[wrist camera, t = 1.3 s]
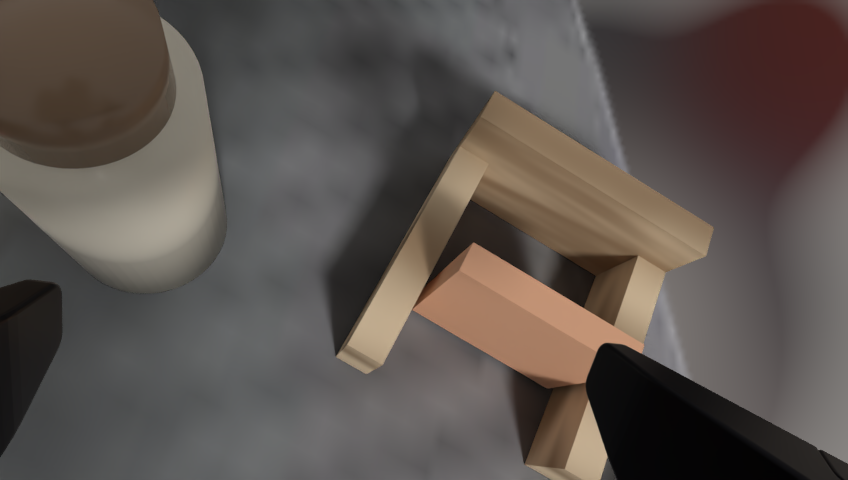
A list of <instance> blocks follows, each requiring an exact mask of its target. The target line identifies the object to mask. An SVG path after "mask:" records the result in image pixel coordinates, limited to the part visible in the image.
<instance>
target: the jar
mask: <svg viewBox="0 0 848 480" xmlns="http://www.w3.org/2000/svg"><path fill="white" fill-rule="evenodd" d="M0 192H1V193H3V194H4V195H5V196H6V197H7V198H8V199H9V200H10V201H11V202H12V203H13V204H15V205H16V206H17V207H18V208H19V209H20V210H21V211H22V212H23V213H24V214H25V215H26V216H28V217H29V218H30V219H31V220H32V221H33V222H34V223H35V224H36V225H37V226H38V227H39V228H41V229H42V230H43V231H44V232H45V233H46V234H47V235H48V236H49V237H50V238H51V239H52V240H54V241H55V242H56V243H57V244H58V245H59V246H60V247H61V248H62V249H63V250H64V251H65V252H67V253H68V254H69V255H70V256H71V257H72V258H73V259H74V260H75V261H76V262H77V263H78V264H80V265H81V266H82V267H83V268H84V269H85V270H86V271H87V272H88V273H89V274H91V275H92V276H93V277H94V278H95V279H97V280H98V281H100V282H102V283H103V284H105V285H107V286H110V287H112V288H115V289H118V290H121V291H125V292H130V293H140V294H148V293H158V292H165V291H168V290H172V289H175V288H177V287H180V286H182V285H185V284H186V283H188V282H190V281H192V280H194V279H195V278H196V277H198V276H199V275H201V274H202V273H203V272H204V271H205V270H206V269H207V268H208V267H209V266H210V265H211V264H212V263H213V261H214V260H215V259H216V257H217V255H218V254H219V252H220V250H221V248H222V246H223V243H224V240H225V237H226V231H227V216H226V210H225V204H224V198H223V192H222V186H221V180H220V174H219V168H218V162H217V156H216V151H215V145H214V139H213V133H212V127H211V121H210V115H209V109H208V103H207V97H206V92H205V86H204V80H203V74H202V71H201V68H200V65H199V62H198V60H197V58H196V56H195V54H194V52H193V50H192V49H191V47H190V46H189V44H188V43H187V41H186V40H185V39H184V38H183V37H182V36H181V34H180V33H179V32H178V31H177V30H176V29H175V28H174V27H172V26H171V25H170V24H169V23H168V22H167V21H165V20H164V19H162V18H161V17H160V16H159V12H158V10H157V8H156V6H155V3H154V1H153V0H0Z"/></svg>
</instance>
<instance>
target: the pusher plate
mask: <svg viewBox="0 0 848 480" xmlns="http://www.w3.org/2000/svg"><path fill="white" fill-rule="evenodd" d="M412 310H413V311H415V312H417V313H418V314H420V315H422V316H423V317H425V318H427V319H429V320H430V321H432V322H434V323H435V324H437V325H439V326H441V327H442V328H444V329H446V330H447V331H449V332H451V333H453V334H454V335H456V336H458V337H459V338H461V339H463V340H465V341H466V342H468V343H470V344H471V345H473V346H475V347H477V348H478V349H480V350H482V351H483V352H485V353H487V354H489V355H490V356H492V357H494V358H495V359H497V360H499V361H501V362H502V363H504V364H506V365H507V366H509V367H511V368H513V369H514V370H516V371H518V372H519V373H521V374H523V375H525V376H526V377H528V378H530V379H531V380H533V381H535V382H537V383H538V384H540V385H542V386H543V387H545V388H547V389H549V388H555V387H561V386H567V385H574V384H580V383H586V379H587V376H588V373H589V371H590V368H591V365H592V363H593V360H594V358H595V355H596V353H597V350H598V348H599V347H600V346H601V345H602V344H604V343H616V344H623V345H626V346H628V347H630V348H632V349H634V350H636V351H637V352H639V353H641V354H642V351H643V348H644V344H642V343H641V342H639V341H637V340H636V339H634V338H632V337H631V336H629V335H627V334H626V333H624V332H622V331H621V330H619V329H617V328H616V327H614V326H612V325H611V324H609V323H607V322H606V321H604V320H602V319H601V318H599V317H597V316H596V315H594V314H592V313H591V312H589V311H587V310H586V309H584V308H582V307H581V306H579V305H577V304H576V303H574V302H572V301H571V300H569V299H567V298H566V297H564V296H562V295H561V294H559V293H557V292H556V291H554V290H552V289H551V288H549V287H547V286H546V285H544V284H542V283H541V282H539V281H537V280H536V279H534V278H532V277H531V276H529V275H527V274H526V273H524V272H522V271H521V270H519V269H517V268H516V267H514V266H512V265H511V264H509V263H507V262H506V261H504V260H502V259H501V258H499V257H497V256H496V255H494V254H492V253H491V252H489V251H487V250H486V249H484V248H482V247H481V246H479V245H477V244H476V243H474V242H473V243H472V244H471V245H470V246H469V247H468V248H466V249H465V250H464V251H463V252H462V253H461V254H460V255H459V256H458V257H457V258H455V259H454V260H453V261H452V262H451V263H450V264H449V265H448V266H447V267H446V268H444V269H443V270H442V271H441V272H440V273H439V274H438V275H437V276H436V277H435V278H434V279H432V280H431V281H430V282H429V283H428V284H427V285H426V286H425V287H424V288H423V290H422V292H421V294H420V295H419V297H418V299H417V301H416V303H415V305H414V307H413V309H412Z"/></svg>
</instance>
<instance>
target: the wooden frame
mask: <svg viewBox="0 0 848 480" xmlns="http://www.w3.org/2000/svg"><path fill="white" fill-rule="evenodd" d="M470 200H472V201H473V202H475V203H477V204H478V205H480V206H481V207H483V208H485V209H486V210H488V211H490V212H491V213H493V214H495V215H496V216H498V217H500V218H501V219H503V220H505V221H506V222H508V223H510V224H511V225H513V226H514V227H516V228H518V229H519V230H521V231H523V232H524V233H526V234H528V235H529V236H531V237H533V238H534V239H536V240H538V241H539V242H541V243H543V244H544V245H546V246H548V247H549V248H551V249H552V250H554V251H556V252H557V253H559V254H561V255H562V256H564V257H566V258H567V259H569V260H571V261H572V262H574V263H576V264H577V265H579V266H581V267H582V268H584V269H585V270H587V271H589V272H590V273H592V274H594V275H595V276H596V277H595V279H594V282H593V285H592V287H591V290H590V293H589V295H588V298H587V301H586V303H585V306H584V309H586V310H587V311H589V312H591V313H592V314H594V315H596V316H597V317H599V318H601V319H602V320H604V321H606V322H607V323H609V324H611V325H612V326H614V327H616V328H617V329H619V330H621V331H622V332H624V333H626V334H627V335H629V336H631V337H632V338H634V339H636V340H637V341H639V342H641V343H642V344H643V343H644V340H645V336H646V333H647V330H648V327H649V324H650V320H651V317H652V314H653V311H654V308H655V305H656V301H657V298H658V295H659V292H660V289H661V286H662V282H663V279H664V276H665V273H666V272H668V271H670V270H672V269H675V268H678V267H680V266H683V265H685V264H688V263H690V262H692V261H695V260H697V259H700V258H702V257H705V256H706V254H707V251H708V247H709V243H710V240H711V236H712V233H713V229H714V227H712V226H711V225H709V224H707V223H706V222H704V221H703V220H701V219H699V218H698V217H696V216H695V215H693V214H691V213H690V212H688V211H686V210H685V209H683V208H682V207H680V206H679V205H677V204H675V203H674V202H672V201H671V200H669V199H667V198H666V197H664V196H662V195H661V194H659V193H658V192H656V191H655V190H653V189H651V188H650V187H648V186H647V185H645V184H643V183H642V182H640V181H639V180H637V179H635V178H634V177H632V176H631V175H629V174H627V173H626V172H624V171H623V170H621V169H619V168H618V167H616V166H615V165H613V164H611V163H610V162H608V161H607V160H605V159H603V158H602V157H600V156H599V155H597V154H595V153H594V152H592V151H591V150H589V149H587V148H586V147H584V146H583V145H581V144H579V143H578V142H576V141H575V140H573V139H571V138H570V137H568V136H567V135H565V134H563V133H562V132H560V131H559V130H557V129H555V128H554V127H552V126H551V125H549V124H547V123H546V122H544V121H543V120H541V119H539V118H538V117H536V116H535V115H533V114H531V113H530V112H528V111H527V110H525V109H523V108H522V107H520V106H519V105H517V104H515V103H514V102H512V101H511V100H509V99H507V98H506V97H504V96H503V95H501V94H499V93H498V92H496V91H495V92H494V93H493V94H492V96H491V97H490V99H489V100H488V102H487V103H486V105H485V106H484V108H483V109H482V111H481V112H480V114H479V115H478V117H477V118H476V120H475V121H474V123H473V124H472V126H471V127H470V128H469V130H468V131H467V133H466V134H465V136H464V137H463V139H462V140H461V142H460V143H459V145H458V146H457V148H456V149H455V151H454V152H453V154H452V155H451V157H450V158H449V160H448V162H447V163H446V165H445V167H444V169H443V170H442V172H441V174H440V176H439V177H438V179H437V181H436V183H435V184H434V186H433V188H432V190H431V191H430V193H429V195H428V197H427V198H426V200H425V202H424V204H423V205H422V207H421V209H420V211H419V212H418V214H417V216H416V218H415V219H414V221H413V223H412V225H411V226H410V228H409V230H408V232H407V233H406V235H405V237H404V239H403V240H402V242H401V244H400V246H399V247H398V249H397V251H396V252H395V254H394V256H393V258H392V259H391V261H390V263H389V265H388V266H387V268H386V270H385V272H384V273H383V275H382V277H381V279H380V280H379V282H378V284H377V286H376V287H375V289H374V291H373V293H372V294H371V296H370V298H369V300H368V301H367V303H366V305H365V307H364V308H363V310H362V312H361V314H360V315H359V317H358V319H357V321H356V322H355V324H354V326H353V328H352V329H351V331H350V333H349V335H348V336H347V338H346V340H345V342H344V343H343V345H342V347H341V349H340V350H339V352H338V354H337V356H336V357H337V358H339V359H340V360H342V361H344V362H346V363H347V364H349V365H351V366H353V367H354V368H356V369H358V370H360V371H361V372H363V373H365V374H368V373H369V372H371V371H373V370H375V369H376V368H378V367H380V366H381V365H383V363H384V361H385V359H386V357H387V356H388V354H389V352H390V350H391V348H392V346H393V344H394V342H395V340H396V339H397V337H398V335H399V333H400V331H401V329H402V327H403V325H404V323H405V322H406V320H407V318H408V316H409V314H410V312H411V310H412V308H413V306H414V305H415V303H416V301H417V299H418V297H419V295H420V293H421V291H422V289H423V288H424V286H425V284H426V282H427V280H428V278H429V276H430V274H431V272H432V270H433V269H434V267H435V265H436V263H437V261H438V259H439V257H440V255H441V253H442V252H443V250H444V248H445V246H446V244H447V242H448V240H449V238H450V236H451V235H452V233H453V231H454V229H455V227H456V225H457V223H458V221H459V219H460V218H461V216H462V214H463V212H464V210H465V208H466V206H467V204H468V202H469V201H470ZM607 457H608V456H607V453H606V450H605V447H604V444H603V441H602V438H601V435H600V432H599V429H598V426H597V423H596V420H595V417H594V414H593V411H592V408H591V405H590V402H589V399H588V396H587V393H586V383H580V384H574V385H567V386H561V387H555V388H553V391H552V393H551V396H550V399H549V401H548V404H547V406H546V409H545V412H544V414H543V417H542V420H541V422H540V425H539V428H538V430H537V433H536V436H535V438H534V441H533V444H532V446H531V449H530V452H529V454H528V457H527V459H526V462H525V465H526V466H528V467H530V468H532V469H533V470H535V471H537V472H539V473H540V474H542V475H544V476H546V477H547V478H549V479H551V480H600V479H601V476H602V473H603V470H604V467H605V463H606V460H607Z"/></svg>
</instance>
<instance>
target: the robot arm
mask: <svg viewBox="0 0 848 480" xmlns="http://www.w3.org/2000/svg"><path fill="white" fill-rule="evenodd" d="M61 338H62V292H61V288H60V286H59V285H58V284H57V283H54V282H47V281H38V280H24V281H20V282H17V283H14V284H11V285H7V286H4V287H1V288H0V457H1V455H2V454H3V452H4V451H5V449H6V448H7V446H8V444H9V443H10V441H11V440H12V438H13V436H14V435H15V433H16V431H17V429H18V427H19V425H20V424H21V422H22V420H23V418H24V416H25V414H26V412H27V410H28V408H29V406H30V404H31V402H32V400H33V398H34V396H35V394H36V392H37V390H38V388H39V386H40V384H41V382H42V380H43V378H44V376H45V374H46V372H47V370H48V368H49V366H50V364H51V362H52V360H53V358H54V356H55V354H56V352H57V350H58V348H59V345H60V342H61ZM586 393H587V396H588V399H589V402H590V405H591V408H592V411H593V414H594V417H595V420H596V423H597V426H598V429H599V432H600V435H601V438H602V441H603V444H604V447H605V450H606V453H607V456H608V459H609V461H610V464H611V467H612V469H613V471H614V474H615V476H616V479H617V480H848V464H847V463H845V462H843V461H841V460H840V459H838V458H836V457H834V456H832V455H830V454H828V453H826V452H825V451H823V450H818V449H817V448H816V447H815V446H813V445H811V444H809V443H808V442H806V441H804V440H802V439H800V438H798V437H796V436H795V435H793V434H791V433H789V432H787V431H785V430H783V429H781V428H780V427H777V426H776V425H774V424H772V423H770V422H768V421H766V420H765V419H763V418H761V417H759V416H757V415H755V414H753V413H751V412H750V411H748V410H746V409H744V408H742V407H740V406H738V405H737V404H735V403H733V402H731V401H729V400H727V399H725V398H723V397H721V396H720V395H718V394H716V393H714V392H712V391H710V390H708V389H707V388H705V387H703V386H701V385H699V384H697V383H695V382H694V381H692V380H690V379H688V378H686V377H684V376H682V375H680V374H679V373H677V372H675V371H673V370H671V369H669V368H667V367H666V366H664V365H662V364H660V363H658V362H656V361H654V360H652V359H651V358H649V357H647V356H645V355H643V354H641V353H639V352H637V351H636V350H634V349H632V348H630V347H628V346H626V345H623V344H616V343H604V344H602V345H601V346H600V347H599V348H598V350H597V353H596V355H595V358H594V360H593V363H592V365H591V368H590V371H589V373H588V376H587V379H586Z"/></svg>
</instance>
